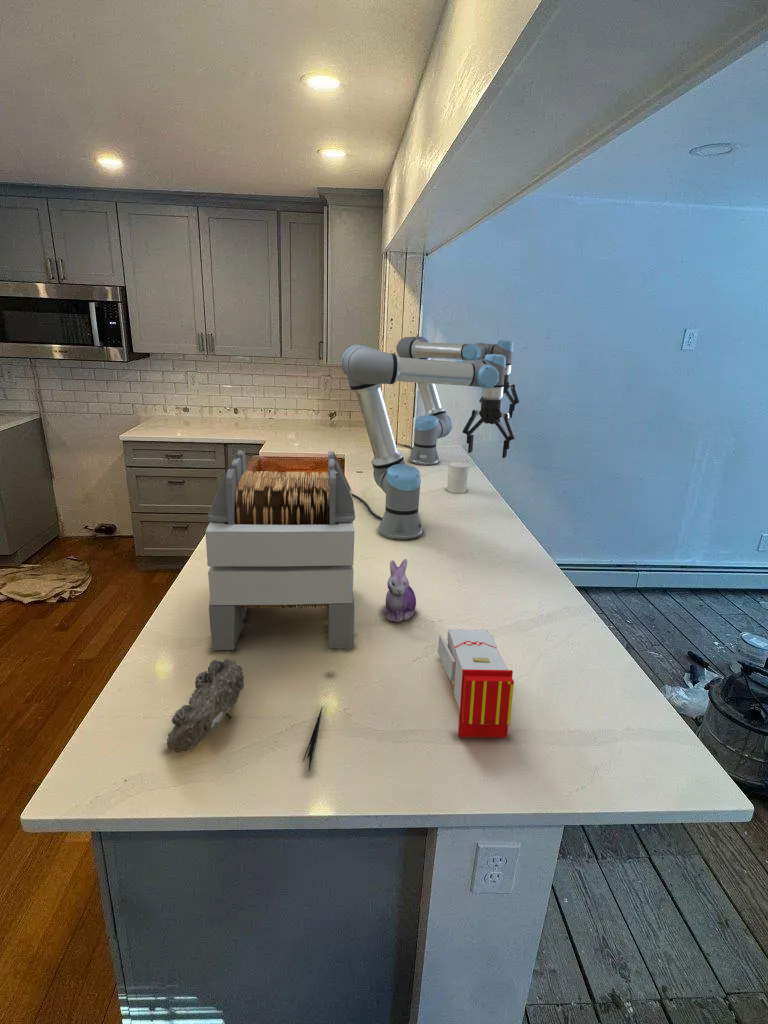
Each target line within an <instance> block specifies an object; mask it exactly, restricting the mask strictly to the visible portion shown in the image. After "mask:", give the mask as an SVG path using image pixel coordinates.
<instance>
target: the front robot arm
mask: <svg viewBox="0 0 768 1024" xmlns="http://www.w3.org/2000/svg"><path fill="white" fill-rule="evenodd" d="M341 368H342V371H343V374H345V376H346V379H347V382H348V385H349V388H350V391H351V392H353V393H355V395H356V397H357V401H358V404H359V408H360V412H361V415H362V418H363V422H364V424H365V425H364V426H365V429H366V433H367V436H368V439H369V442H370V446H371V450H372V453H373V456H374V457H373V458H372V460H371V465H372V469H373V470H372V471H373V479H374V481H375V483H376V485H377V486H378V487H379V488H380V489H381V490H382V491H383V493H384V494H385V504H384V505H385V507H384V508H385V509H384V513H383V515H382V517H381V516H380V515H378V514H376V513H375V512H373V511H372V509H371V507H370V506H369V504H368V503H367V502H366V501H365V500H364V499H362V498H361V497H360V496H358V495H357V494H354V493H352V497H354V498H356V499H357V500H359V501H360V502H362V504H364V505H365V507H366V508H367V510H368V512H369V513H370V514H371V515H372V516H374V517H375V518H377V519H379V520H380V521H381V522H379V526H378V533H379V534H380V535H381V536H382V537H385V538H387V539H389V540H395V541H410V540H415V539H418V538H420V537H421V536H422V535H423V525H422V524H421V518H420V515H419V507H420V506H419V505H420V496H421V495H420V494H421V493H420V492H421V483H422V480H421V472H420V470H419V469H418V468H416V467H415V466H411V465H409V464H406V461H405V457H404V454H403V453H402V452H401V451H399V450H398V448H397V443H395V442H396V440H395V435H394V432H393V429H392V426H391V421H390V418H389V414H388V410H387V406H386V402H385V400H384V395H383V392H382V387H381V386H382V385H395V384H396V383H398V382H402V383H417V384H418V383H431V384H435V385H448V386H465V387H474V388H475V387H476V388H481V397H483V398H482V399H481V398H480V399H481V402H480V410H479V409H477V408H475V409H473V410H472V411H471V415H470V417H469V419H468V421H467V422H466V424H465V426H464V427H463V429H462V434H465V435H466V444H468V448H467V450H468V451H467V453H468V454H471V453H473V449H474V437H475V435H474V434H473V433H474V432H475V431H476V430H478V428H479V427H480V426H481V425H482V424H483V423H484V424H490V425H495V426H496V427H497V429H498V430H499V431H500V433H501V434H502V436H503V438H504V440H503V445H502V456H501V458H502V459H505V458H507V454H508V450H509V449H510V448H511V442H512V441H513V440H516V439H517V436H516V432H515V430H514V426H513V424H512V420H511V418H510V414H509V412H506V413H502V407H503V399H502V398H503V396H504V393H503V385H504V375H505V369H506V358H505V356H504V355H499V354H487V355H485V359H484V360H476V361H472V360H455V361H452V360H451V361H450V360H440V359H431V360H427V359H415V358H403V357H399V356H398V354H397V353H393V352H392V353H391V352H386V351H382V350H378V349H375V348H373V347H370V346H368V345H365V344H355V345H352V346H350V347H348V348H347V349H346V350H345V351H344V353H343V354H342V357H341ZM477 416H479V417H480V419H479V420H478V421H477V422H476V423H475V424H474V425H473V426H472V424H473V423H474V421H475V419H476V418H477ZM501 418H502V419H503V420H504V422H505V426H504V424H503V423H502V421H501ZM505 427H506V428H505Z"/></svg>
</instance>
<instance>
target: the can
mask: <svg viewBox="0 0 768 1024" xmlns="http://www.w3.org/2000/svg"><path fill="white" fill-rule="evenodd" d="M447 471H448V472H447V483H446V491H447V492H449V493H453V494H464V493H466V492H467V487H468V476H469V464H468V463H466V462H463V461H451V462H449V463H448V470H447Z"/></svg>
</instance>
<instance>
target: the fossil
mask: <svg viewBox="0 0 768 1024" xmlns="http://www.w3.org/2000/svg"><path fill="white" fill-rule="evenodd" d="M243 670H244V669H243V667H242V665H240V664H237V662H236V661H235V660H234V659H232V658H231V659H227V658H226V659H224V660H223V661H222V660H217V659H212V660H211V661H210V663H209V665H208V666H207V671H201V672H199V673H198V674H197V675H196V676H195V680H194V684H195V685H194V687H195V689H194V690H193V693H192V694H191V697H190V698H189V700H188V704H184V705H182V706H181V707H180V709H177V710H176V711H175V713H174V715H173V716H172V718H171V723H172V724H173V727H172V730H171V731H170V732H168V734H167V738H166V741H167V742H166V745H167V749H168V750H169V751H173V752H174V753H176V754H178V753H182V752H188V751H189V752H192V751H193V750H195V748H196V747H197V746H199V744H200V743H201V742H203V741H204V740H205V739H206V738H207V737H208V736H209V735H210V734H211V733H212V732H214V730H215V729H217V727H218V726H219V724H220V722H221V721H222V720H223V719H224V718H225V716H226V717H227V719H229V720H233V717H232V715H230V714H229V710H230V709H231V708H234V706H235V704H236V703H237V702H238V699H239V697H240V695H241V693H242V691H243V690H245V689H244V688H245V675H244V671H243Z"/></svg>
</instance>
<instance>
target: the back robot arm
mask: <svg viewBox="0 0 768 1024" xmlns="http://www.w3.org/2000/svg"><path fill="white" fill-rule="evenodd" d="M395 350H396V355H397V356H398V357H403V358H415V359H427V360H432V359H433V360H455V361H461V360H472V361H481V360H484V359H485V355H487V354H499V355H504V356H505V358H506V369H505V375H504V385H503V394H504V395H505V396H506V397H507V399H508V400H509V402H510V403H509V407H508V408H509V409H508V413H509V414H510V419H513V413H514V411H515V410H516V409H515V408H516V405H517V404H519V403H520V400H519V397H518V393H517V391H516V384H514V383H510V380H511V375H510V374H511V371H512V361H513V354H514V341H512V340H505V339H499V340H498V341H497V343H484V342H475V343H459V342H458V343H457V342H456V343H455V342H453V343H452V342H431V341H429V339H428V338H425V337H424V336H418V335H417V336H405V337H402V338H401V339H400V340H399V341H397V343H396V349H395ZM417 386H418V389H419V394H420V397H421V400H422V403H423V406H424V410H425V414H424V415H419V416H417V417H416V419H415V423H414V434H413V435H414V436H413V447H412V446H410V445H408V444H405V445H403V446H404V447H407V448H409V449H411V452H410V455H409V459H408V460H409V462H410V463H411V464H414V465H419V466H434V465H437V464H439V463H440V459H439V454H438V451H437V443H438V442H437V441H438V439H442V438H445V437H447V436H448V435H449V434H450V433H452V431H453V427H454V423H453V419H452V418H451V416H449V415H448V414H447V411H446V409H445V408H443V407H442V403H441V401H440V396H439V394H438V390H437V386H436V384H431V383H417ZM509 389H510V391H511V393H510V391H509ZM511 394H512V395H511ZM482 398H483V397H482V396H481V397H480V399H479V401H478V402H479V403H481V399H482Z"/></svg>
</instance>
